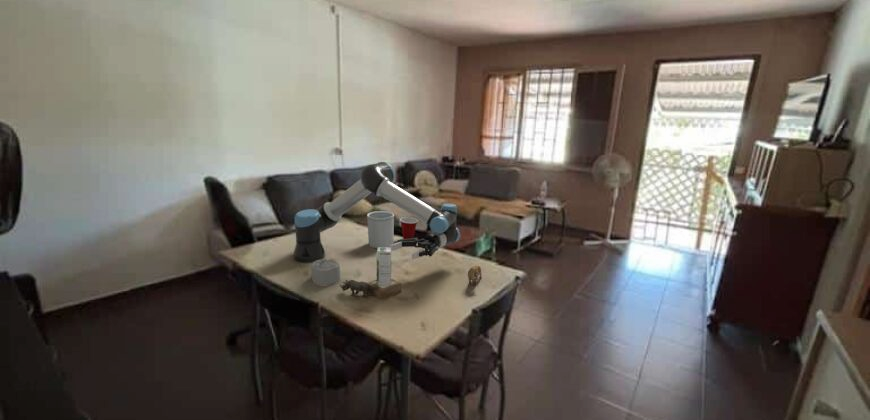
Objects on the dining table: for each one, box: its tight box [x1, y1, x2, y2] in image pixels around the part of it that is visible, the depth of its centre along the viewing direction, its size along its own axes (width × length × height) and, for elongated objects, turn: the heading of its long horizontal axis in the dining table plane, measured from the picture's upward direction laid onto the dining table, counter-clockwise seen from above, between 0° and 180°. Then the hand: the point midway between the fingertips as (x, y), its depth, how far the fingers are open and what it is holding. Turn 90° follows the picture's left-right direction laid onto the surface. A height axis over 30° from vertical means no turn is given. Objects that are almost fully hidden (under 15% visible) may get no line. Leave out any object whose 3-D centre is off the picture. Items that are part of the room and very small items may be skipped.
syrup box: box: [376, 247, 392, 285], centre depth 155 cm, size 6×6×14 cm
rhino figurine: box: [339, 279, 372, 299], centre depth 154 cm, size 4×14×6 cm, turn 72°
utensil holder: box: [366, 210, 395, 249], centre depth 212 cm, size 15×15×18 cm
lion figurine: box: [467, 264, 483, 286], centre depth 167 cm, size 15×5×9 cm, turn 167°
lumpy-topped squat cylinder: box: [311, 257, 341, 287], centre depth 167 cm, size 10×13×9 cm
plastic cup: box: [399, 216, 419, 239], centre depth 224 cm, size 11×11×12 cm
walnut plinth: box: [366, 278, 402, 300], centre depth 157 cm, size 10×10×4 cm
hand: (401, 252), depth 161 cm, fingers open, 13 cm apart
